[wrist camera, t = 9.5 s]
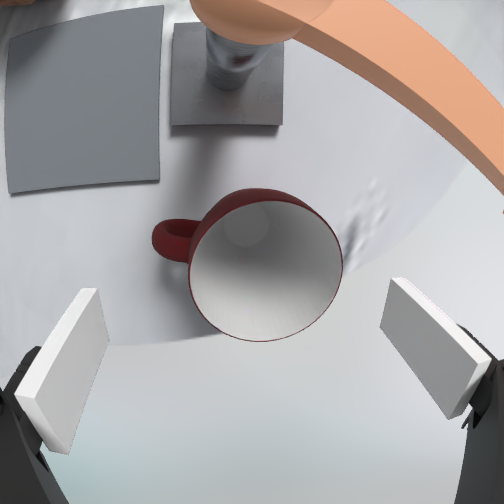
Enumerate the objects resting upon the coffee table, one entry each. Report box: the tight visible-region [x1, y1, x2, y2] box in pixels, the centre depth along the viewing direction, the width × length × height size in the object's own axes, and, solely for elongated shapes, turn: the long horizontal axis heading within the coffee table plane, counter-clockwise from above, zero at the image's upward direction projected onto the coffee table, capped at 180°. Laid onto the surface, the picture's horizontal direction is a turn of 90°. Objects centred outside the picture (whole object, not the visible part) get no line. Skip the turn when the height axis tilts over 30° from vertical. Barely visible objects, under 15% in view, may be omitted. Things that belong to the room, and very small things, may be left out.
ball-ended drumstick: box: [190, 0, 504, 214], centre depth 9 cm, size 4×19×4 cm, turn 66°
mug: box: [152, 188, 343, 342], centre depth 21 cm, size 11×8×10 cm
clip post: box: [171, 22, 284, 126], centre depth 14 cm, size 8×8×14 cm
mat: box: [4, 5, 164, 194], centre depth 20 cm, size 14×14×1 cm
